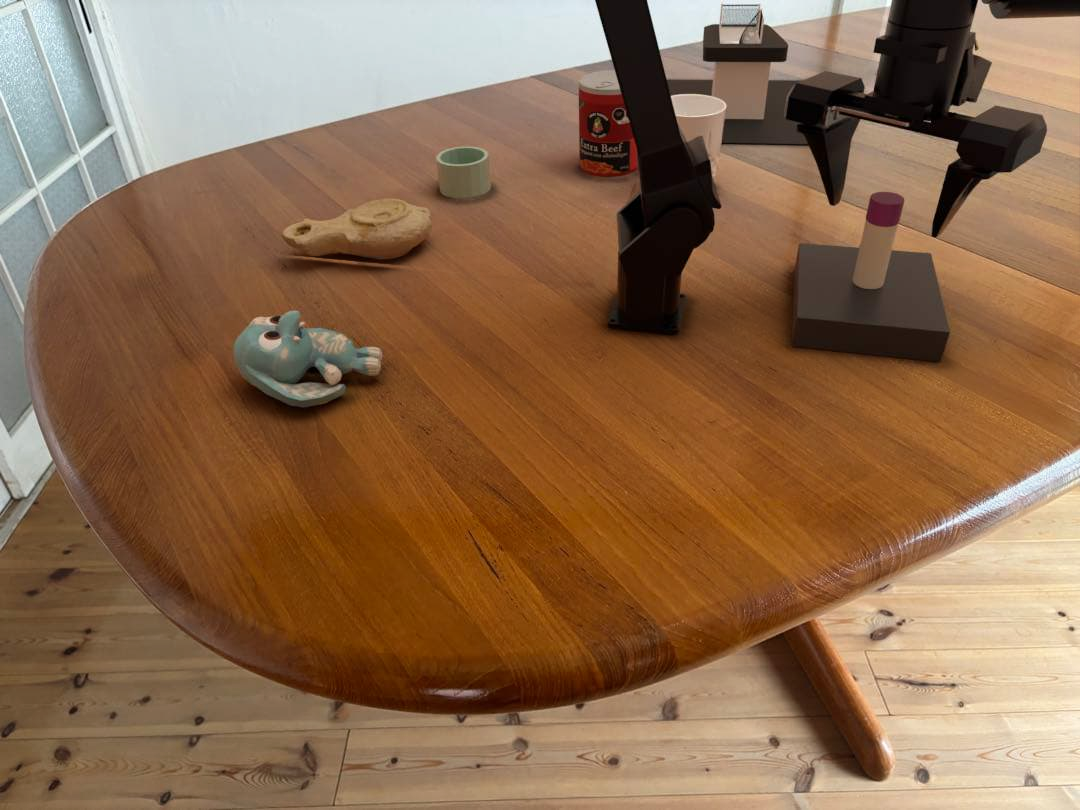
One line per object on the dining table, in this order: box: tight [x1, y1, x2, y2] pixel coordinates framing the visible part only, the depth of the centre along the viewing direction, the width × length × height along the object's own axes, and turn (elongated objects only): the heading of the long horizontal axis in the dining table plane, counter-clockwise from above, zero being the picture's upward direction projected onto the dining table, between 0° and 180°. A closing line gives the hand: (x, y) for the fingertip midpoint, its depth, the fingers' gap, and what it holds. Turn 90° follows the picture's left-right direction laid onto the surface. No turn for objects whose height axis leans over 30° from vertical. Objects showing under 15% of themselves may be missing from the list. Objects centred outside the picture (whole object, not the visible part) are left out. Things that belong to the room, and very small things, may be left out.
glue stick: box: [853, 191, 905, 289], centre depth 71 cm, size 3×3×8 cm
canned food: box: [578, 69, 638, 178], centre depth 101 cm, size 8×8×11 cm
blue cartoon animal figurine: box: [232, 309, 384, 408], centre depth 68 cm, size 11×7×12 cm
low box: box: [791, 242, 951, 363], centre depth 74 cm, size 14×12×3 cm
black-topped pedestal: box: [667, 3, 808, 145], centre depth 116 cm, size 28×26×13 cm
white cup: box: [671, 94, 726, 181], centre depth 95 cm, size 8×8×10 cm
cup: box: [435, 145, 492, 200], centre depth 99 cm, size 6×6×4 cm
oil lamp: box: [281, 198, 433, 260], centre depth 86 cm, size 11×14×5 cm
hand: (883, 219), depth 69 cm, fingers open, 9 cm apart
